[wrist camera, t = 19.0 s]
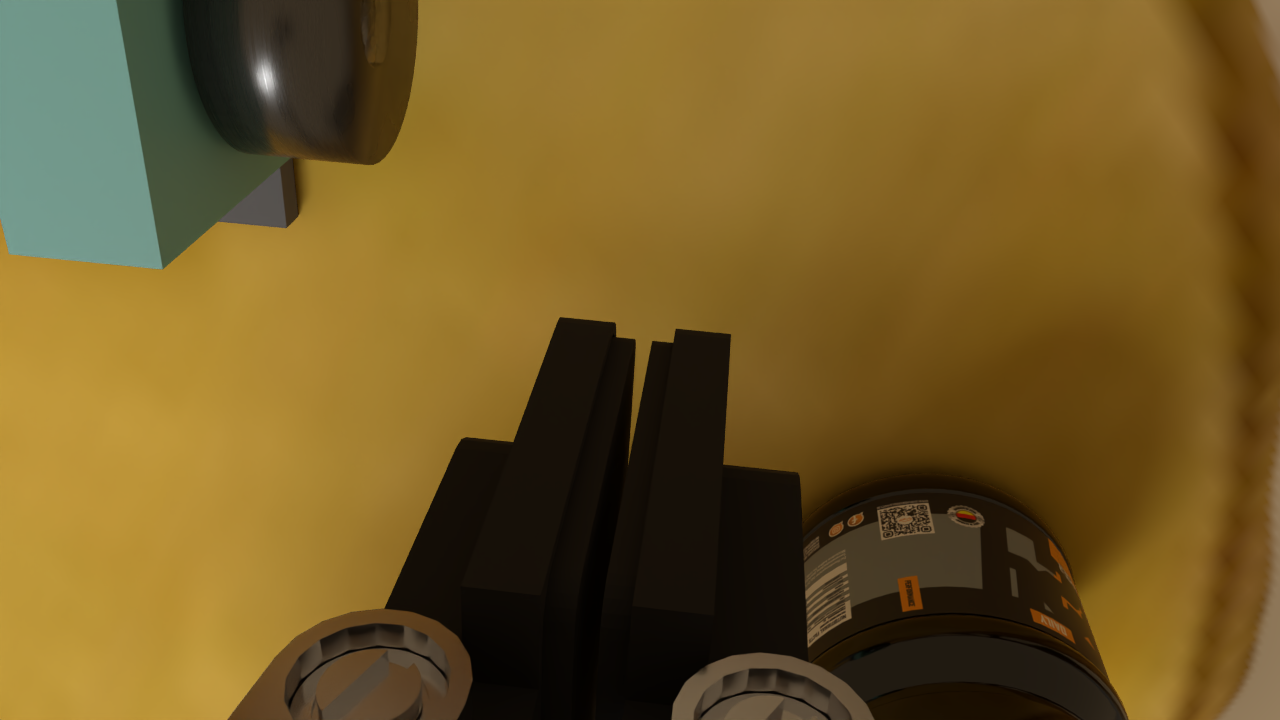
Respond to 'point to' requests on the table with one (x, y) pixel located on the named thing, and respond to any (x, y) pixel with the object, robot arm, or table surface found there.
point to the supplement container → (949, 605)
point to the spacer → (109, 135)
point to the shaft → (304, 74)
